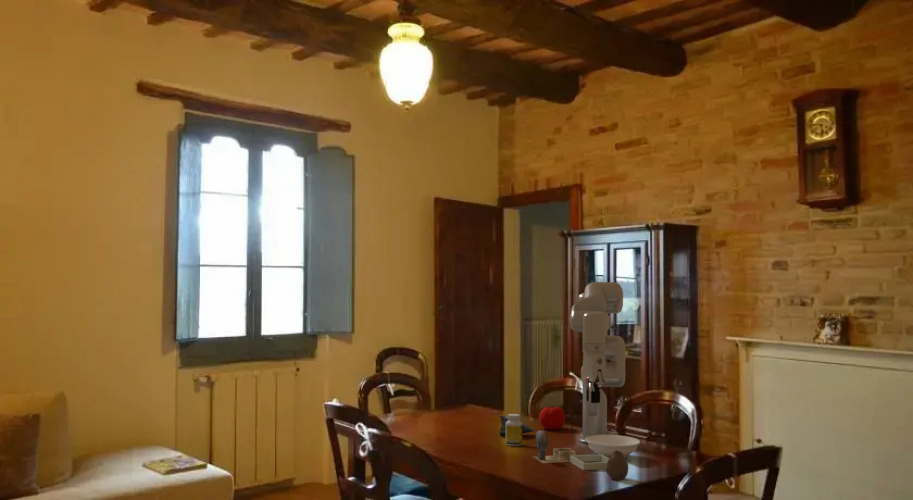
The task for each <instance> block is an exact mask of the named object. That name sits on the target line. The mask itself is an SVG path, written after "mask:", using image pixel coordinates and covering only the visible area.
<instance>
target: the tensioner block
mask: <svg viewBox="0 0 913 500" xmlns="http://www.w3.org/2000/svg"><path fill="white" fill-rule="evenodd" d="M535 444H536V448H537V455H535V456H532V457H533V458H534V459H536V460H537V461H539V462H540V463H542V464H552V463H571V462H570V456H573V455H577V454H576V450H573V449H572V448H570V447H562V448H561V447H559V448H558V447H557V448H553V451H552V452H553V454H552V455H546V451H547V450H548V447H549V437H548V433H547V432H546V430H537V431H536V434H535Z"/></svg>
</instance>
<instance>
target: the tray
mask: <svg viewBox="0 0 913 500" xmlns="http://www.w3.org/2000/svg"><path fill="white" fill-rule="evenodd" d="M609 458H610V457H606V456H604V455H602V454H579V455H578V454H576V455H573V456H570V462H569V463H571V464H572V465H575V466H576V467H578V468H579V469H581V470H582V471H584V472H582V473H583V474H586V473H587V474H591V473H590V472H591V470H592V471H593V470H595V471H596V470H603V471H602V473H607V462H608V460H609ZM604 470H605V471H604ZM585 471H586V472H585ZM587 471H588V472H587Z"/></svg>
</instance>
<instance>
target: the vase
mask: <svg viewBox="0 0 913 500" xmlns="http://www.w3.org/2000/svg"><path fill="white" fill-rule="evenodd" d="M608 458H609V460H608V462H607V469H606V471H607V472H606V473H607V475H608V476H609V477H610V479H611V480H614V479H615V481H622V480H624V479H626V478H627V476H628V473H629V463H628V460H627V459H626V457H624V456H623V455H622V452H621V451H614V452H613V454H612V456H611V457H608Z"/></svg>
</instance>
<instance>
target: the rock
mask: <svg viewBox="0 0 913 500" xmlns="http://www.w3.org/2000/svg"><path fill="white" fill-rule="evenodd" d="M499 418H500V425H501V426H500V430H499V436H501V437H506V422H507V421H508V420H509V419H508V417H506V416H505V415H502V414H500V415H499ZM532 432H535V429H534V428H533V427H530V426H528V425H526V424H525V423H523V422H522V435H523V434H527V433H532Z"/></svg>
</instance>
